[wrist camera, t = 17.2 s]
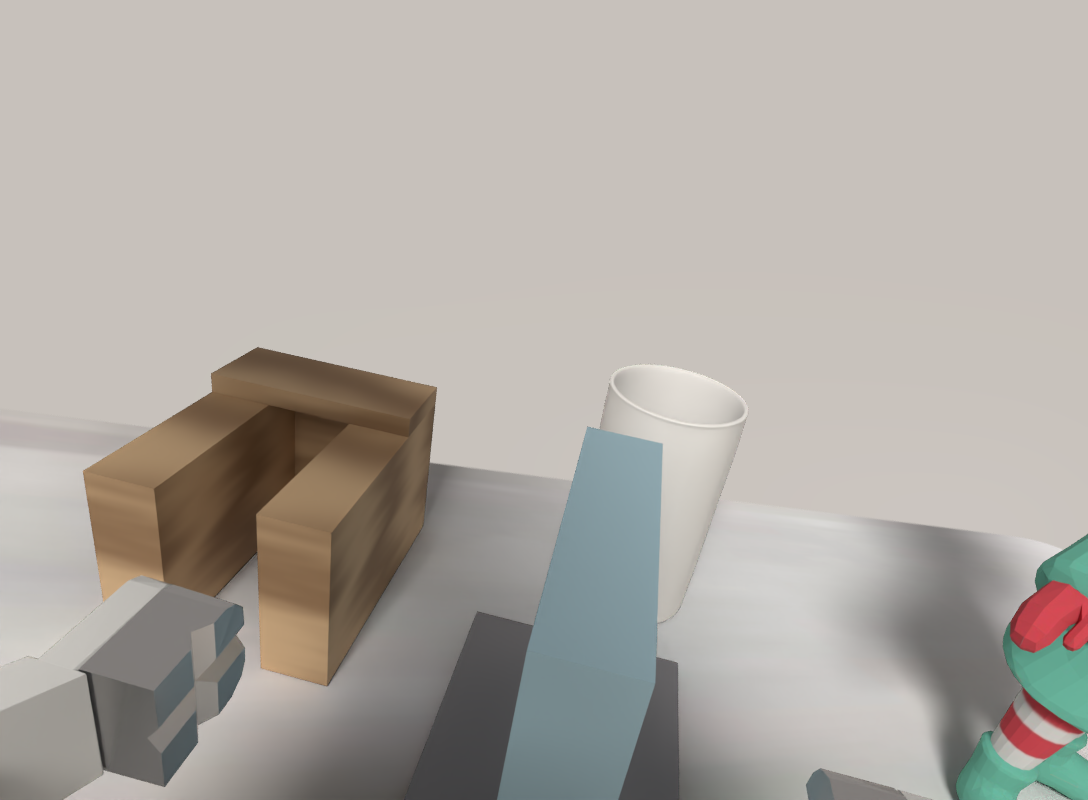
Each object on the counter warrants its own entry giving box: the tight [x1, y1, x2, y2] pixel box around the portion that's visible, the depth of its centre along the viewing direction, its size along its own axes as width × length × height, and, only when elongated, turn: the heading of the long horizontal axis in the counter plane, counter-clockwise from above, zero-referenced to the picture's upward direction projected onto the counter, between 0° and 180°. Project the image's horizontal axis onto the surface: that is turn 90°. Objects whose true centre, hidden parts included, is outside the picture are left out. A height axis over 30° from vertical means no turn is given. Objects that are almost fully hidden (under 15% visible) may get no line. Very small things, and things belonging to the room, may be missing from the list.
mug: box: [600, 364, 749, 623], centre depth 36 cm, size 10×7×12 cm, turn 176°
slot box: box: [83, 347, 437, 686], centre depth 32 cm, size 12×10×9 cm
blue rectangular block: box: [497, 427, 663, 800], centre depth 23 cm, size 12×3×12 cm, turn 170°
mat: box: [404, 612, 679, 800], centre depth 26 cm, size 14×10×1 cm
